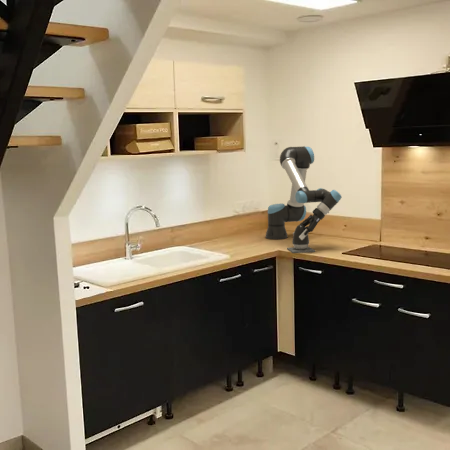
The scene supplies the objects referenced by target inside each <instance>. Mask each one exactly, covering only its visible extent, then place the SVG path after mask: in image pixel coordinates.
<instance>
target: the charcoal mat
mask: <svg viewBox="0 0 450 450" xmlns="http://www.w3.org/2000/svg"><path fill="white" fill-rule="evenodd" d="M286 250H287V251H289V252H290V253H291V254H300V253H301V254H303V253H304V254H305V253H315V252H316V250H315V249H314V248H312V247H310V246H308V247H307V248H306V249H304V250H298V249H296V248H294V246H293V247H287V249H286Z"/></svg>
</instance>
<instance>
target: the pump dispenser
mask: <svg viewBox="0 0 450 450" xmlns="http://www.w3.org/2000/svg"><path fill="white" fill-rule="evenodd" d="M308 226H309V225H307V226H306V227H305V226H304V225H300V224H298V225H297V226H296V227H295V229H294V232H293V233H294V234H292V236H293V237H292V241H291V242H292V245H293V247H294V248H296V249H298V250H304V249H306V248H307V247H309V244H310V237H309V233H308V234H307V236H306V237H305V238H304V239H303V240H301V239H300V238H299V236H300V235H301V234H302V233H303V232H304V231H305V230H306V228H308Z"/></svg>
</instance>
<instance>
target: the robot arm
mask: <svg viewBox="0 0 450 450" xmlns="http://www.w3.org/2000/svg"><path fill="white" fill-rule="evenodd" d="M314 162H315V153H314V151H313V149H312V148H311V147H310V146H305V145H304V146H288V147H286V148H284V149H283V150H282V152H281V153H280V155H279V163H280V166H281V168H282V169H283V170H284V171H285V172H286V174H287V176H288V179H289V180H290V182H291V189H290V195H289V197H290V198H289V200H288V201H287V203H286V205H285V203H275V204H271V205H268V208H267V230H266V232H265V239H268V240H283V239H287V238H288V232H287V228H286V227H285V225H286V224H285V223H291V222H293V223H294V222H296V223H297V222H300V223H299V225H304V226H305V227H307V226H308V228H306V230H305V231H304V232H303V233H302V234H301V235H300V236H299V238H300V239H301V240H303V239H304V238H305V237H306V236H307V234H308V235H309V233H312V232H313V231H314V230H315V228H316V227H317V225H318V223H319V222H320V221H322V220H323V219H324V218H325V217H326V216H327V215H328V214H329V213H330V211H331V210H332V209H333V208H334V207H335V206H336V205H337V204H338V203H339V202H340V201H341V199H342V194H340V192H338V191H337V190H336V189H332V190H331V191H330V190H329V191H328V190H327V189H325V188H322V187H320V188H318V189H315V190H313V189H312V190H311V189H309V187H308V186H307V185H308V184H306V178H307V170H308V169H310V165H312V164H314ZM307 203H319V204H318V205H317V206H316V207H315V208H314V209H313V210H312V214H310V215H309V216H308V217H307V218H306V215H307V207H306V205H305V204H307ZM301 221H302V222H301ZM292 235H294V232H292Z"/></svg>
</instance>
